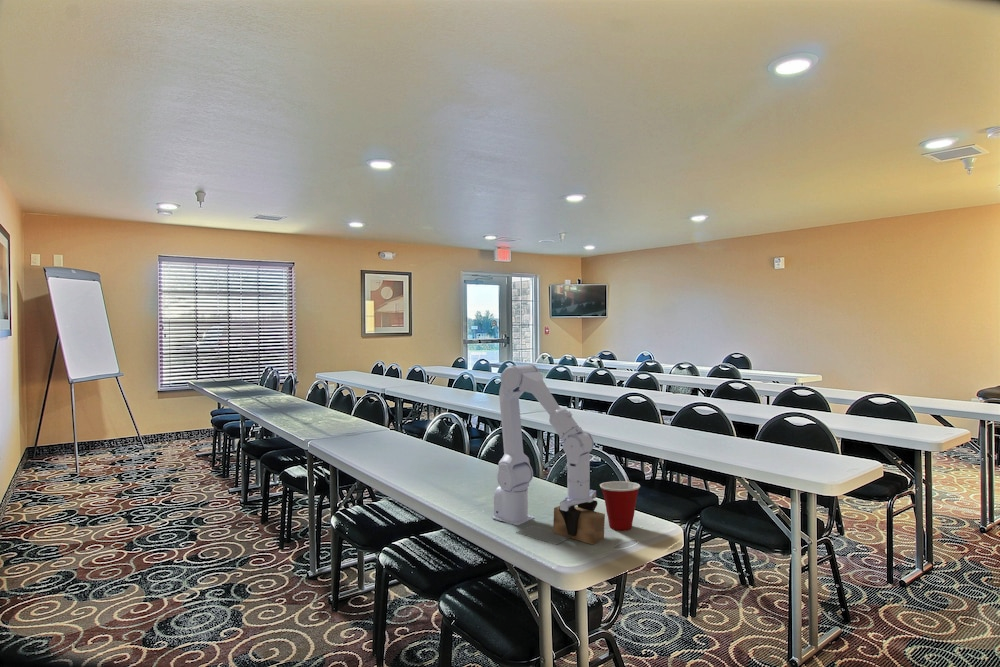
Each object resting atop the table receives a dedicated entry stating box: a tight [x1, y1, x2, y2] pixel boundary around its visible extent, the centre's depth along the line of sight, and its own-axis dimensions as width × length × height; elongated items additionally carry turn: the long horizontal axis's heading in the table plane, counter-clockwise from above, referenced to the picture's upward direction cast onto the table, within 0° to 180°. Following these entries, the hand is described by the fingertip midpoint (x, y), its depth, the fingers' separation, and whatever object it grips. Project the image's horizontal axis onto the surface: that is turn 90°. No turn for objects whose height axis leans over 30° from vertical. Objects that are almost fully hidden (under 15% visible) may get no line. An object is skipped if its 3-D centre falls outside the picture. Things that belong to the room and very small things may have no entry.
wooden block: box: [552, 505, 606, 546], centre depth 144 cm, size 12×6×6 cm, turn 50°
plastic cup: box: [599, 480, 641, 532], centre depth 151 cm, size 11×11×12 cm
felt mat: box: [515, 524, 570, 546], centre depth 145 cm, size 13×7×1 cm, turn 50°
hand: (578, 531), depth 144 cm, fingers closed on wooden block, 6 cm apart
